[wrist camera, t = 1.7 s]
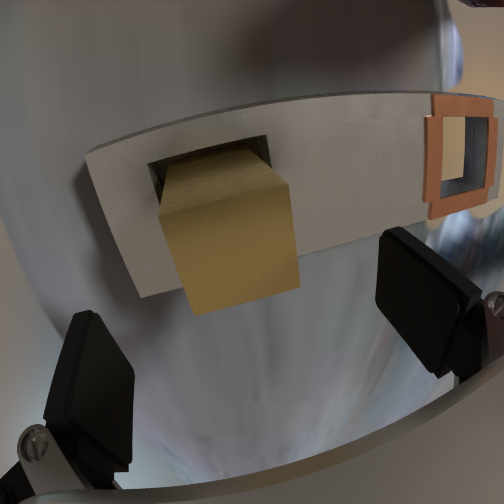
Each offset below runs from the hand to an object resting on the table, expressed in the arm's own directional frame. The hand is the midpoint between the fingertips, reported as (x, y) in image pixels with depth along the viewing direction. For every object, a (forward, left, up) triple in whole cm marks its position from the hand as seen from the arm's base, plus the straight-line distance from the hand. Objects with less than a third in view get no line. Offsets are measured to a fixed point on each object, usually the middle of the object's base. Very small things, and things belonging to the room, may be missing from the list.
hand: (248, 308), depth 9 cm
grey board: (-1, +9, -10) cm, 14 cm away
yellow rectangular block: (-1, 0, -10) cm, 10 cm away
